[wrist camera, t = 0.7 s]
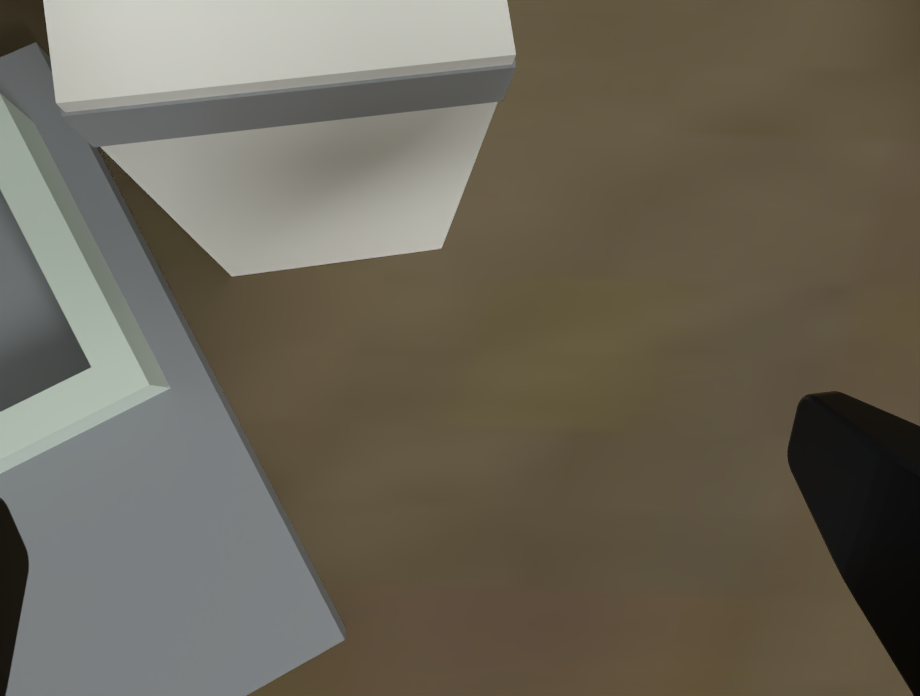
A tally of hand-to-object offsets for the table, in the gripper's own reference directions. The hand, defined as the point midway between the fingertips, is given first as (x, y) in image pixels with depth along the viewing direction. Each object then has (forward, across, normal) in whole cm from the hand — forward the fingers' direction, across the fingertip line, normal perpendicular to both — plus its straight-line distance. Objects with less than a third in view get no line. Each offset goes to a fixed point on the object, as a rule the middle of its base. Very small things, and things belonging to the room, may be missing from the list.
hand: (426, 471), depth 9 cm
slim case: (+15, +1, +2) cm, 16 cm away
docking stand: (+12, +11, +7) cm, 17 cm away
